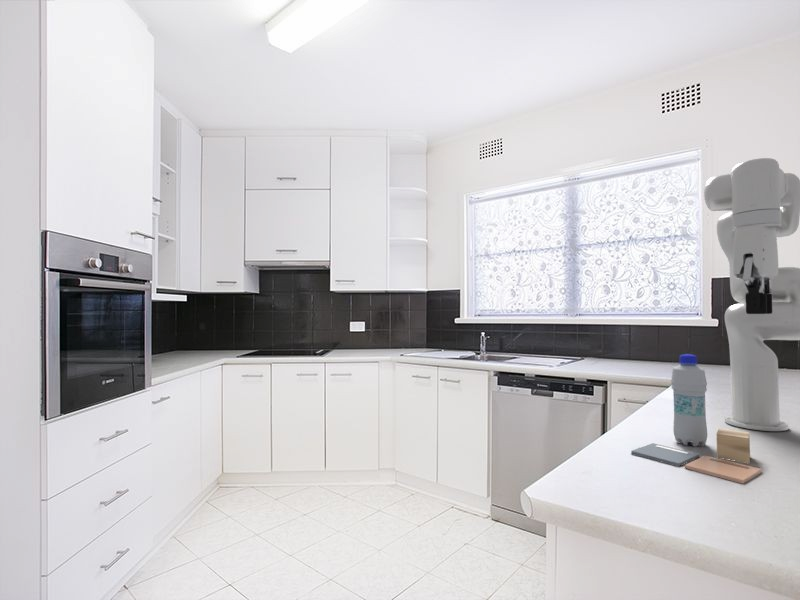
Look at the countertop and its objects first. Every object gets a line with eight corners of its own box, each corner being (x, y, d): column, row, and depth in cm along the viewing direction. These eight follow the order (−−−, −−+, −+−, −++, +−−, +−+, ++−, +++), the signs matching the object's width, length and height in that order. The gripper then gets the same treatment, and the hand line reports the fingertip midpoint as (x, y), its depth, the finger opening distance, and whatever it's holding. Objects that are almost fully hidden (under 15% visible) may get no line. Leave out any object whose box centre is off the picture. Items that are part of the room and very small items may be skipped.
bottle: (715, 449, 91) (712, 355, 92) (680, 447, 93) (677, 355, 93) (699, 439, 98) (697, 352, 99) (667, 438, 99) (665, 352, 100)
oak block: (719, 452, 90) (718, 428, 90) (750, 457, 86) (749, 432, 87) (717, 458, 86) (716, 433, 86) (749, 464, 83) (748, 438, 83)
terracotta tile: (705, 458, 86) (705, 455, 86) (761, 472, 78) (761, 468, 78) (684, 468, 81) (684, 464, 81) (743, 483, 73) (743, 479, 73)
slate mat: (652, 445, 94) (652, 442, 94) (699, 457, 86) (699, 453, 86) (631, 453, 89) (631, 450, 89) (679, 466, 81) (678, 462, 81)
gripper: (747, 229, 94) (750, 313, 93) (718, 221, 85) (720, 314, 84) (793, 223, 87) (796, 313, 87) (766, 214, 78) (769, 314, 78)
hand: (759, 313), depth 85 cm, fingers closed
